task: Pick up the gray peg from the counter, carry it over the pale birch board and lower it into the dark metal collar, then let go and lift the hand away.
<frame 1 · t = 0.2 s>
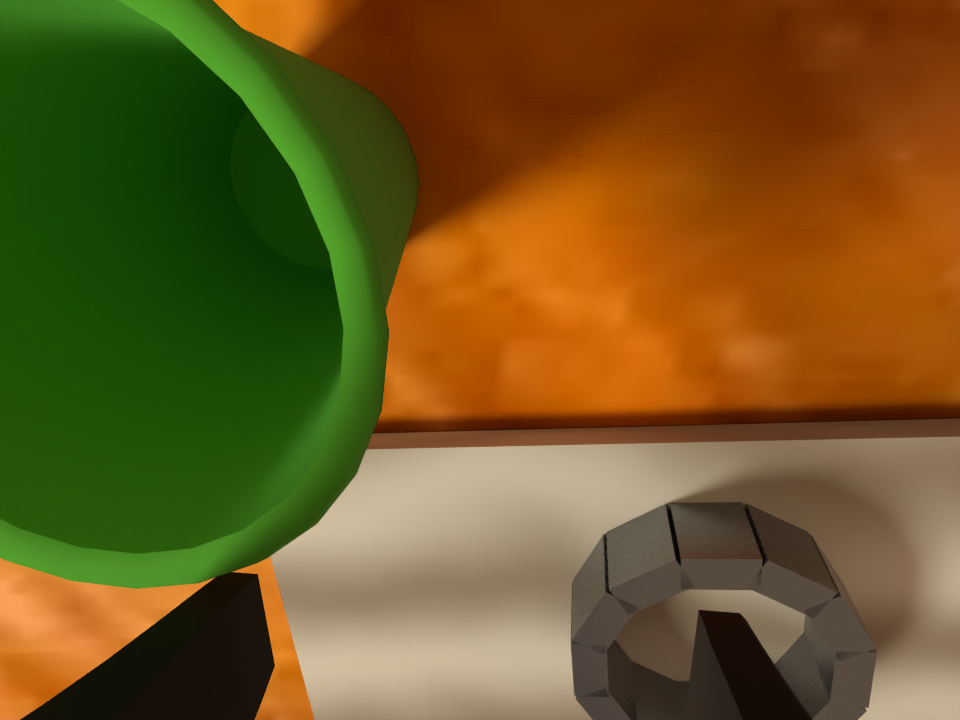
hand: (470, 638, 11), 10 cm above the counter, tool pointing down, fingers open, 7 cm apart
cup: (330, 175, 19), on the counter
peg holder: (604, 586, 23), on the counter
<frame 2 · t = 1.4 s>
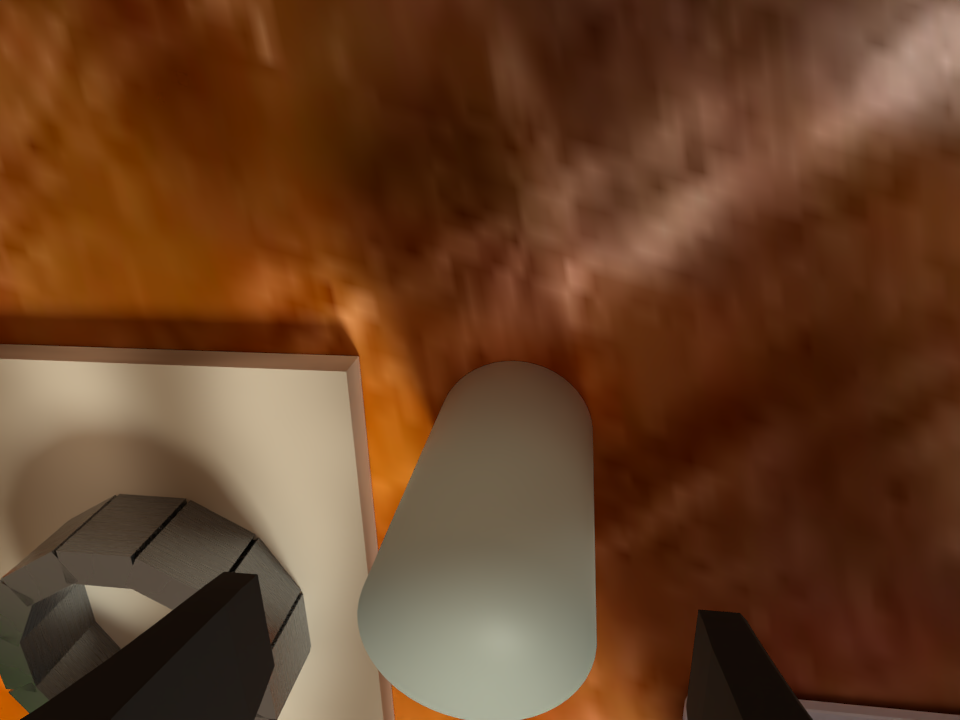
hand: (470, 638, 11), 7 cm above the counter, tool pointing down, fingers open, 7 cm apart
gray peg: (514, 432, 18), on the counter
peg holder: (214, 658, 22), on the counter
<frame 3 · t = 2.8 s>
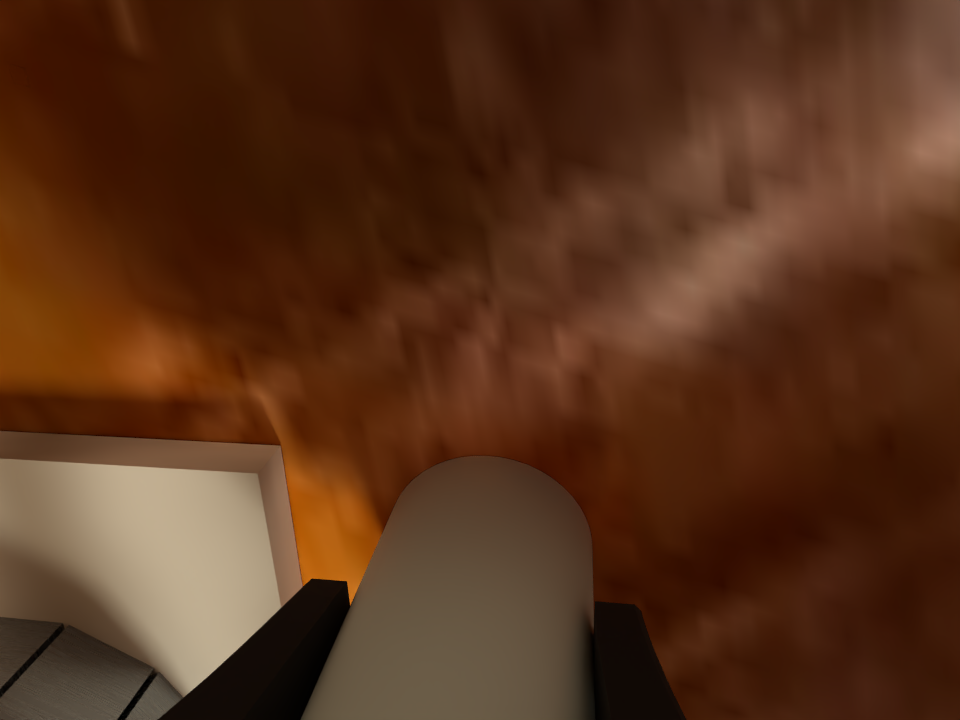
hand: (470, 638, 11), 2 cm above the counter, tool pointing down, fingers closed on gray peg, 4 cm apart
gray peg: (489, 544, 13), on the counter, touching gripper
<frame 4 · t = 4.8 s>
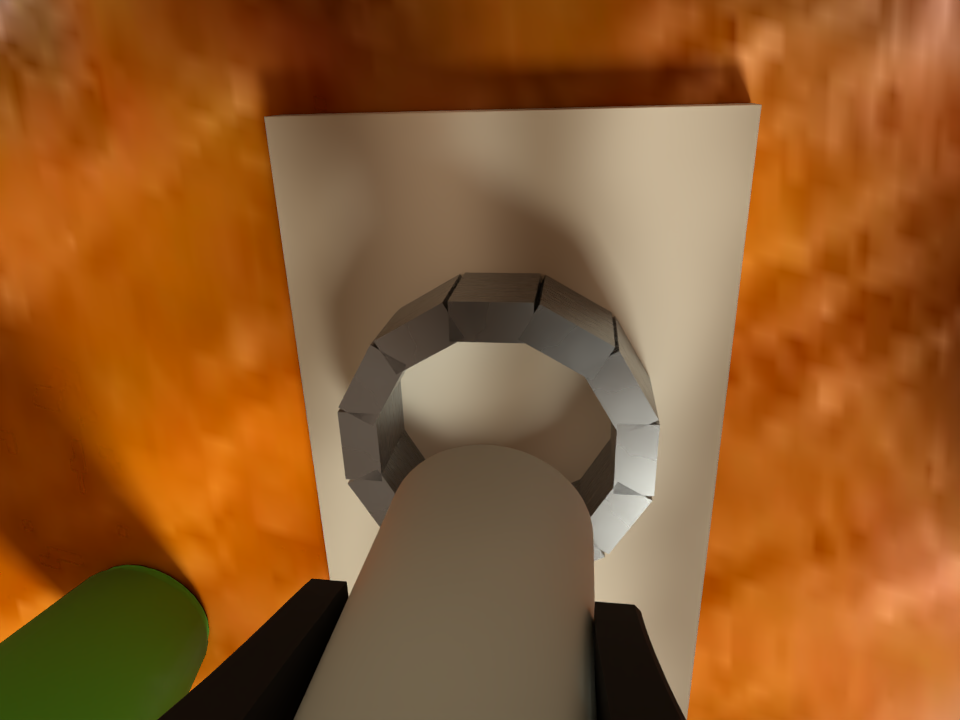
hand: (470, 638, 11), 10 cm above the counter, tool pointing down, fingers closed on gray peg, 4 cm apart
cup: (152, 611, 26), on the counter
gray peg: (489, 534, 13), point 7 cm above the counter, touching gripper
peg holder: (509, 479, 21), on the counter
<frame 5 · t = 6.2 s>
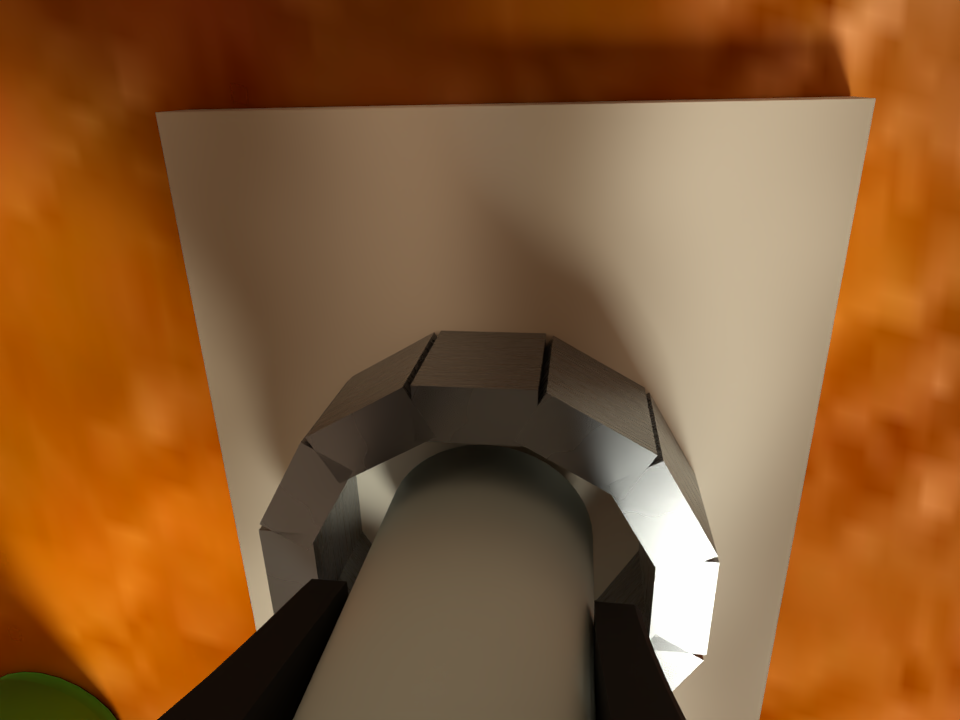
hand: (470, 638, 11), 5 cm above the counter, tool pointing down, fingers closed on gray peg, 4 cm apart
gray peg: (488, 534, 13), point 2 cm above the counter, touching gripper
peg holder: (502, 589, 16), on the counter
when the fingers open (5 cm above the counter, at t = 6.9 s): gray peg drops 1 cm, resting on peg holder.
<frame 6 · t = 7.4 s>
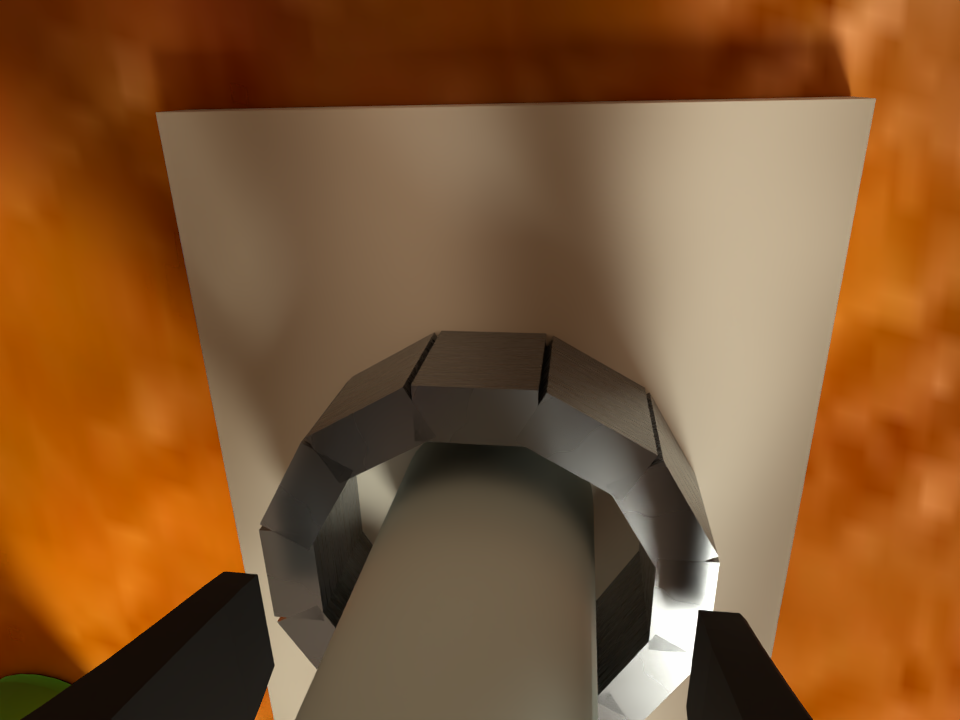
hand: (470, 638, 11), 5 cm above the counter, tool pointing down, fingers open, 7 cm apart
gray peg: (496, 501, 14), point 1 cm above the counter, touching peg holder
peg holder: (502, 589, 16), on the counter
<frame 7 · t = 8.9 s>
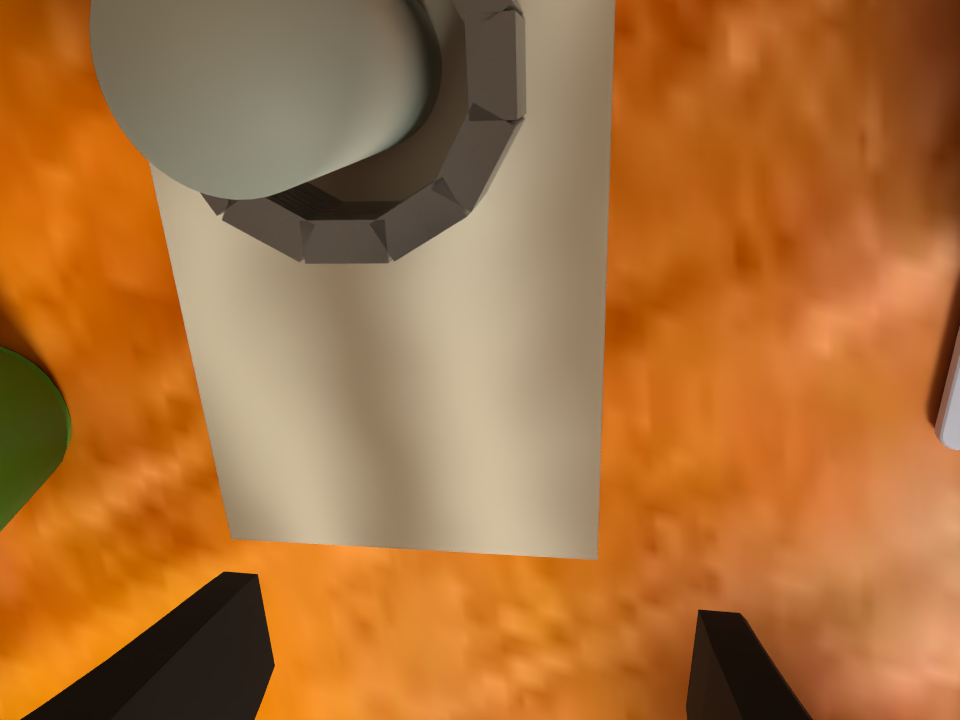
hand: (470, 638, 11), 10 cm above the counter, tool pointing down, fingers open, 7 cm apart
cup: (7, 407, 23), on the counter
gray peg: (359, 65, 16), point 1 cm above the counter, touching peg holder
peg holder: (383, 194, 18), on the counter
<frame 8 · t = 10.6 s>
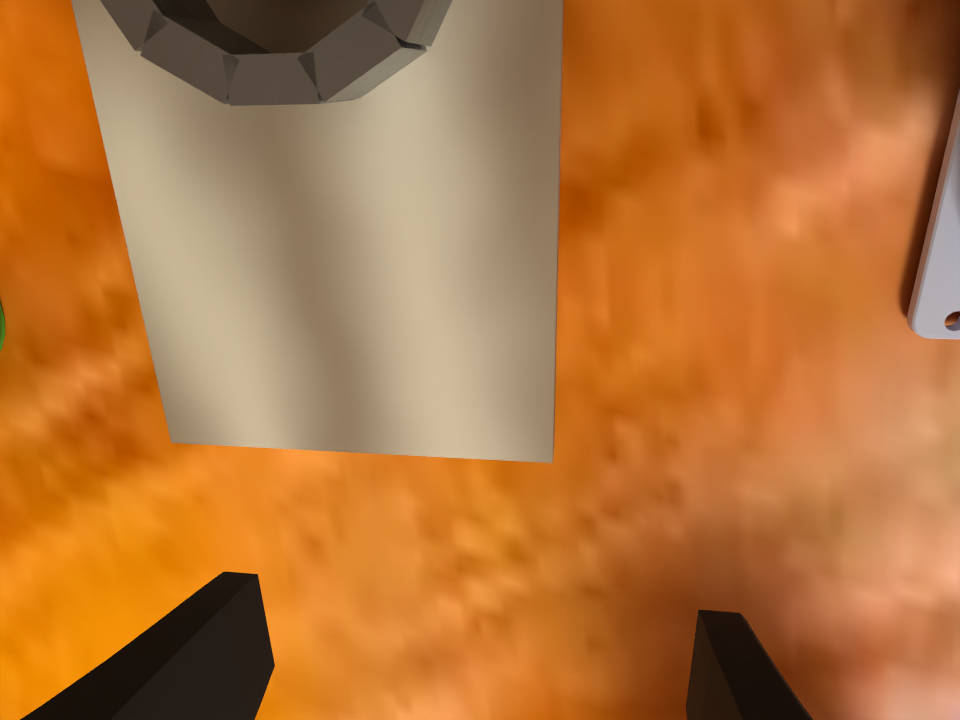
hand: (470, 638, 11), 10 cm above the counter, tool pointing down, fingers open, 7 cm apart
peg holder: (325, 57, 17), on the counter
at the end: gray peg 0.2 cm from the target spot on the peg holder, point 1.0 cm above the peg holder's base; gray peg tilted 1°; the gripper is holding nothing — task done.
